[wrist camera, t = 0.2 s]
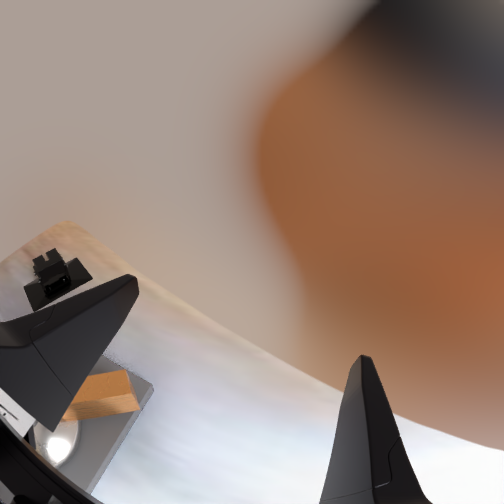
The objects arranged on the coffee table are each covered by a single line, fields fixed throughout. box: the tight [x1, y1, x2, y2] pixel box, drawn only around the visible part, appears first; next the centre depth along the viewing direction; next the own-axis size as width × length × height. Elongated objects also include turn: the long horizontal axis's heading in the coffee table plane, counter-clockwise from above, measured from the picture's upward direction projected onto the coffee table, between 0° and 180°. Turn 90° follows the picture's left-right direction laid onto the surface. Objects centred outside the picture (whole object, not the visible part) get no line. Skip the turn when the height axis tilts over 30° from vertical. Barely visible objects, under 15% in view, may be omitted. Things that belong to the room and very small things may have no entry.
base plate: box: [0, 355, 154, 504], centre depth 14 cm, size 20×15×6 cm
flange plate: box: [33, 369, 140, 469], centre depth 14 cm, size 14×14×5 cm
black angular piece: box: [24, 248, 93, 312], centre depth 29 cm, size 12×7×5 cm, turn 142°
